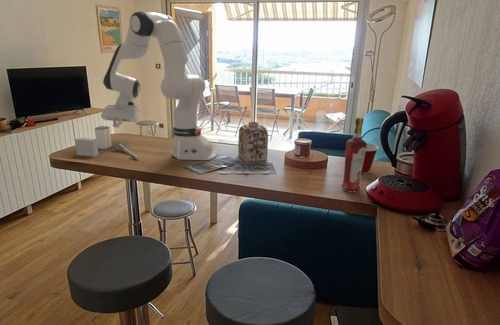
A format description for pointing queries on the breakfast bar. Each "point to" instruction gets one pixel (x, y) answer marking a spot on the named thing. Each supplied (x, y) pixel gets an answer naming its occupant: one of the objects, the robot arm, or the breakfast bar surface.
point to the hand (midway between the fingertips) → (115, 126)
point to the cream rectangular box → (103, 137)
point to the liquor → (354, 158)
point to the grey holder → (88, 147)
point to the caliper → (125, 150)
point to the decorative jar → (253, 142)
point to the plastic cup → (369, 156)
